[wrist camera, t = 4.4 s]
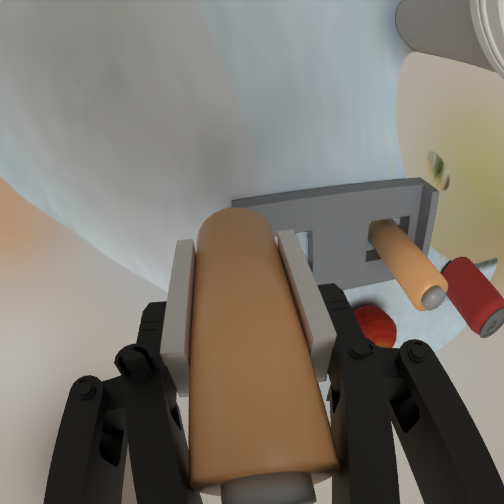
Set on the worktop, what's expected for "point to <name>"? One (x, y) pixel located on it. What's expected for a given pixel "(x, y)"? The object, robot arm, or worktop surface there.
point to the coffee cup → (455, 30)
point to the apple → (376, 325)
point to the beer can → (474, 297)
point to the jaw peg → (251, 373)
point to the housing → (363, 234)
